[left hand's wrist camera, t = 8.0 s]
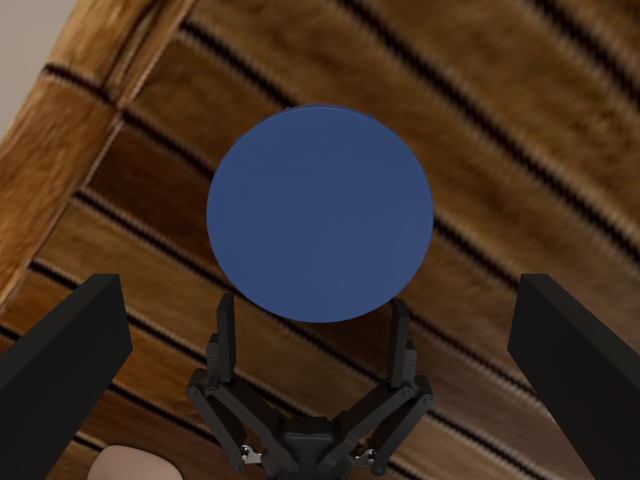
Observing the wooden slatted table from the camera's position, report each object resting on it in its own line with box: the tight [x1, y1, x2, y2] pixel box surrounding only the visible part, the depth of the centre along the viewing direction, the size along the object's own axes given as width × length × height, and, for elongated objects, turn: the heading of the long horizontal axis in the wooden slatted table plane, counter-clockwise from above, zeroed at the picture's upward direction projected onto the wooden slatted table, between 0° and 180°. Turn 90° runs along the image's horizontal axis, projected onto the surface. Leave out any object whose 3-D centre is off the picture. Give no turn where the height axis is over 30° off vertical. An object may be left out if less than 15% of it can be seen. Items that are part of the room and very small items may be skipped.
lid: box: [207, 103, 433, 323], centre depth 22 cm, size 11×11×2 cm
